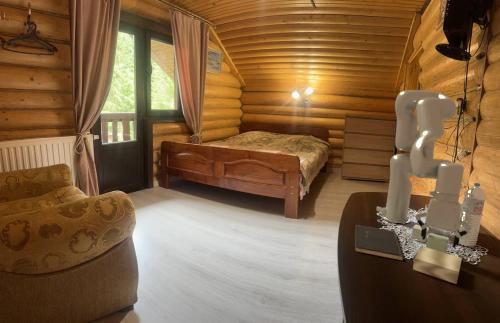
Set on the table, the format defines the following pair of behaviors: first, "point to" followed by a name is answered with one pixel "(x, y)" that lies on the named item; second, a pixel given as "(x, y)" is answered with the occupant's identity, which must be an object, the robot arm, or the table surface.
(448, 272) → the birch block
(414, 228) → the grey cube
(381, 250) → the hardcover book
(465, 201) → the water bottle
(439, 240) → the sage cube
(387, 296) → the table surface
